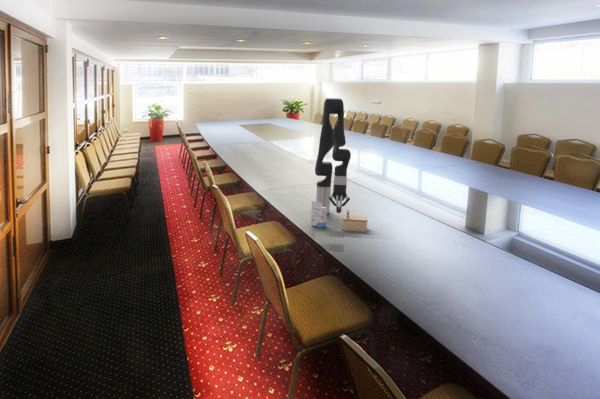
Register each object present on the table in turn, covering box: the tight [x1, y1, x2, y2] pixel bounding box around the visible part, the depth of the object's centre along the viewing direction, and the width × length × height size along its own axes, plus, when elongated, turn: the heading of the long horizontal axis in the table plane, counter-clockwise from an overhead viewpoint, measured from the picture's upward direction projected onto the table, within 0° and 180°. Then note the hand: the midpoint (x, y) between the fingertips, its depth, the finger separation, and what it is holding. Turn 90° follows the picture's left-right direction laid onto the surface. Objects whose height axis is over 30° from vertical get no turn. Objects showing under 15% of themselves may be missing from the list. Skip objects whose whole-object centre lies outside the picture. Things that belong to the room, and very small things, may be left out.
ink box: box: [310, 200, 328, 229], centre depth 240 cm, size 8×5×15 cm, turn 47°
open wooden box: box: [341, 220, 368, 233], centre depth 236 cm, size 11×14×6 cm
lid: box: [341, 209, 368, 222], centre depth 235 cm, size 11×14×4 cm
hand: (338, 213), depth 235 cm, fingers closed
